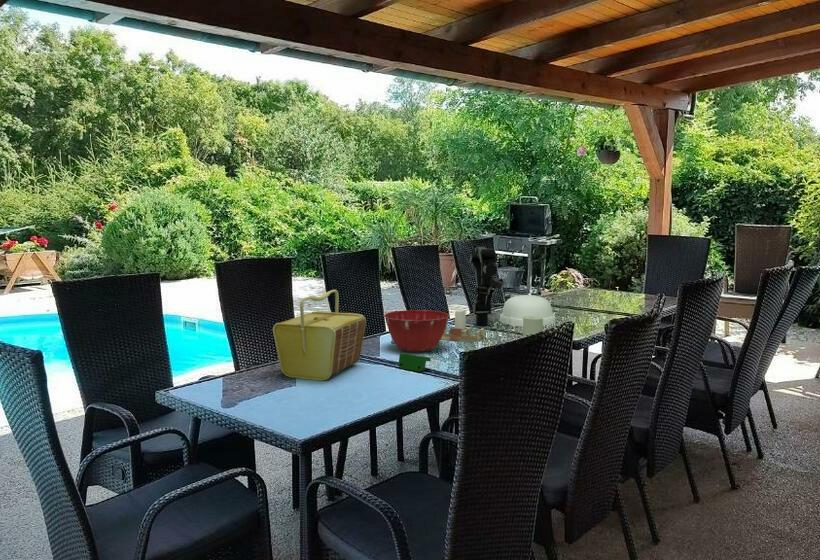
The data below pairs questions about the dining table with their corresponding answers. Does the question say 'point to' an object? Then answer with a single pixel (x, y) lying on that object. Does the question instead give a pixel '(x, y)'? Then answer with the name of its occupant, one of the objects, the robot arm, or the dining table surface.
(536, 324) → the can
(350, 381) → the dining table surface
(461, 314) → the tall off-white box
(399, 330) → the mixing bowl
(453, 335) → the rack
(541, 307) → the dome cover
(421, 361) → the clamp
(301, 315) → the picnic basket
